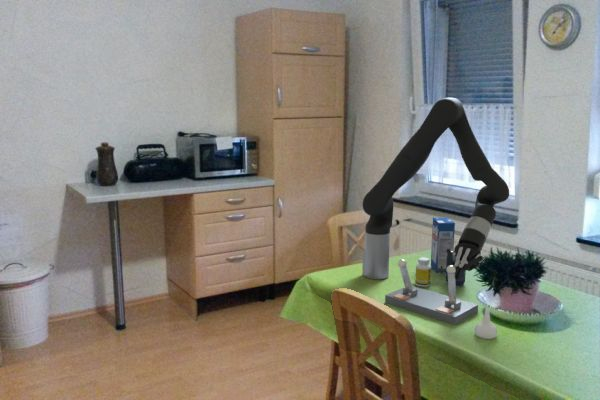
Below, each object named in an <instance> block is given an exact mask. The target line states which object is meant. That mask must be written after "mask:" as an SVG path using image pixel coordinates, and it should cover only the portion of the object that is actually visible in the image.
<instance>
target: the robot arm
mask: <svg viewBox="0 0 600 400" xmlns="http://www.w3.org/2000/svg"><path fill="white" fill-rule="evenodd" d="M448 129H449V131H450V132H451V133H452V135H453V136H454V138H455V141H456V144H457V146H458V149H459V153H460V155H461V158H462V161H463V162H464V165H465V167H466V169H467V170H468V172H469V174H470V176H471V178H472V179H473V180H474V181H476V182H482V183H483V184H484V185H485V186H482V187H481V188H480V189H479V191H478V192H477V196H476V198H475V199H476V200H475V204H474V210H473V211H472V214H471V215H470V218H469V219H468V220H467V223H466V225H465V226H464V228H463V231H462V233H461V235H460V238H459V240H458V242H457V244H456V245H455V246H454V249H452V250H450V249H447V250H446V251H447V255H448V258H449V261H450V263H451V265H452V266H454V267H455V268H456V272H455V281H458V280H460V279H461V276H462V274H463V272H464V271H468V272H471V271H473V270H475V268H477V267H479V266H480V265H479V264H480V263H482V262H483V260H484V261H485V259H484V257H483V256H482V255H481V253H482V250H483V247H484V245H485V244H486V243H485V242H486V241H487V238H488V237H489V234H490V232H491V227H492V226H493V223H494V221H495V218H496V216H497V212H496V209H495V208H494V207H495V206H496V205H497V204H500V203H504V202H506V201H507V200H508V199H509V196H510V188H509V185H508V183H507V182H506V181H505V180H504V179H503V177H501V176H500V174H499V173H498V172H497V171H496V170H494V168H493V167H492V165H491V164H490V162H489V160H488V158H487V156H486V154H485V153H484V151H483V150H482V147H481V145H480V144H479V141H478V140H477V138H476V136H475V134H474V132H473V129H472V127H471V125H470V123H469V120H468V117H467V114H466V110H465V109H464V106H463V103H462V102H461V101H460V100H459V99H458V98H455V97H445V98H440V99H438V100H437V101H436V102H435V103H434V104H433V106H432V107H431V109H430V111H428V115H427V116H426V118H425V119H424V121H423V123H422V124H421V125H420V127H419V128H418V129H417V131H416V132H415V133H413V135H412V136H411V137H410V139H409V140H408V141H407V142H406V143H405V145H404V146H403V147H402V149H401V150H400V151H399V153H398V154H397V155H396V157H395V158H394V159H393V161H392V162H391V164H390V165H389V166H388V168H387V169H386V170H385V172H384V174H383V175H382V176H381V178H380V179H379V180H378V182H376V183H375V184H374V186H373V187H372V188H371V189H370V190H369V191H368V192H367V193H365V196H364V197H363V200H362V209H363V211H364V213H365V214H366V215H367V216H369V218H368V221H367V223H366V224H365V232H364V234H365V236H364V237H365V242H364V249H363V250H362V270H361V271H362V273H361V274H362V275H363V276H364V277H365V278H368V279H372V280H385V279H387V278H389V275H390V249H391V248H390V246H391V244H390V243H391V242H390V240H391V227H392V225H393V219H394V218H393V216H394V197H393V196H394V195H395V194H396V192H397V191H398V190H400V188H401V187H403V186H404V185H405V184H406V183H407V182H409V181H410V180H411V179H412V178H413V177H414V176H415V175H416V174H417V173H418V172H419V171H420V170H421V168H422V167H423V166H424V164H425V163H426V161H427V160H428V159H429V157H430V154H431V153H432V150H433V149H434V146H435V144H436V143H437V141H438V140H439V139H440V137H441V136H443V134H444V133H445V132H446V130H448ZM455 253H456V256H457V257H456V262H455V260H454V256H455ZM482 264H483V263H482Z"/></svg>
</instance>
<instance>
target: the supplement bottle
mask: <svg viewBox="0 0 600 400" xmlns="http://www.w3.org/2000/svg"><path fill="white" fill-rule="evenodd" d="M431 272H432V266H431V264H430V258H429V257H424V256H422V257H418V259H417V264H416V265H415V277H414V278H415V279H414V284H415V285H416V286H417V287H420V288H424V287H427V288H428V287H429V286H430V285H431V276H432V273H431Z"/></svg>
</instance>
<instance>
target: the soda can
mask: <svg viewBox="0 0 600 400" xmlns="http://www.w3.org/2000/svg"><path fill="white" fill-rule="evenodd" d="M456 257H457V256H456V253H455V256H454V260H455V262H456ZM450 265H451V263H450V261H449V258H448V255H447V260H446V269H447V267H448V266H450ZM466 271H467V270H466ZM466 271H464V272H463V274H462V276H461V279H460V280H458V281H455V284H456V288H457V287H463V285H464V284H465V282H466V274H467V273H466ZM445 282H446V284H447V285H448V273H447V270H446V273H445Z"/></svg>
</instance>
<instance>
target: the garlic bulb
mask: <svg viewBox="0 0 600 400" xmlns="http://www.w3.org/2000/svg"><path fill="white" fill-rule="evenodd" d="M490 314H491V313H490V309H487V308H486V309H485V312H484V314H483V315H484V316H483V319H482V321H479V322H477V323H476V324H475V326H474V328H473V329H474V330H473V331H474V334H475V336H476V337H478V338H481V339H484V340H492V339H495V338H497V335H498V328H497V327H496V326H495V324H494V323H492V321H491V315H490Z"/></svg>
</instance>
